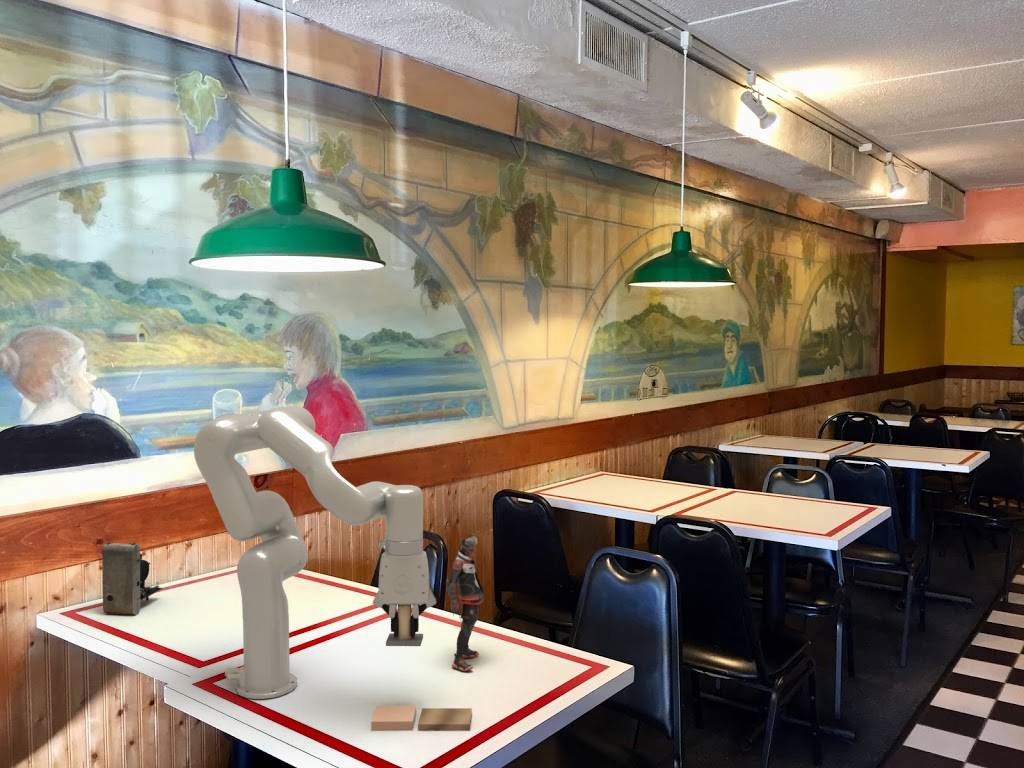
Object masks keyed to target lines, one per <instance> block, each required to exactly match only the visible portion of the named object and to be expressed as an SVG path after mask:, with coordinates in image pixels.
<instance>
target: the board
mask: <svg viewBox="0 0 1024 768" xmlns="http://www.w3.org/2000/svg"><path fill="white" fill-rule="evenodd" d="M472 710H473V708H472V707H469V708H468V707H467V708H466V707H464V708H463V707H462V708H461V707H459V708H458V707H456V708H455V707H453V708H451V707H448V708H447V707H446V708H445V707H444V708H440V707H439V708H437V707H436V708H434V707H432V708H431V707H430V708H429V707H428V708H427V707H426V708H424V707H423V708H421V710H420V715H419V720H418V723H417V731H470V730H471V725H472V715H473V711H472Z"/></svg>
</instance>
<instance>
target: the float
mask: <svg viewBox="0 0 1024 768" xmlns="http://www.w3.org/2000/svg"><path fill="white" fill-rule="evenodd" d="M397 612H398V637H396V638H394V632H390V633H389V634H388V637H387V638H386V641H385V647H421V646H422V643H423V640H424V633H415V636H414V638H412V637H411V624H410V620H411V617H412V613H413V610H412V605H397Z"/></svg>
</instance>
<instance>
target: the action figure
mask: <svg viewBox="0 0 1024 768" xmlns="http://www.w3.org/2000/svg"><path fill="white" fill-rule="evenodd" d="M478 543H479V540H478V538H477V537H475V536H468V537H465V538H463V539H462V540H461V543H460V544H461V546H460V549H458V550H457V551H458V552H457V556H456V557H455V560H454V562H453V564H452V569H451V571H450V577H449V578H448V579H446V581H445V585H446V590H447V594H448V597H449V599H450V605H449V606H450V611H451V612H452V616H453V617H454V616H455V614H458V616H459V617H458V618H459V621H460V622H461V624H460V626H461V627H460V628H459V631H458V635H457V638H456V652H454V654H453V655H454V660H453V661H452V662H451V667H452V669H456V670H459V671H461V672H468V671H471V670H472V669H474V667H473V665H472V664H468V663H467V662H466V661H465V659H475V658H478V657H479V655H480V653H479V651H478V650H472V649H470V648H469V647H470V645H469V641H470V638H471V635H472V631H473V629H474V627H475V624H476V623H477V621H478V619H479V616H478V615H479V614H480V613H481V604H482V603H483V602H484V595H485V594H486V593H485V590H484V587H483V586H482V584H481V581H480V579H479V576H478V573H477V569H476V568H477V567H476V562H475V560H474V555H475V553H476V551H475V546H476V545H477V544H478ZM457 587H458V588H457ZM458 599H459V601H460V602H458ZM460 604H461V605H460ZM460 608H461V609H460ZM459 611H460V612H459Z"/></svg>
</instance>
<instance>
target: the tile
mask: <svg viewBox="0 0 1024 768" xmlns="http://www.w3.org/2000/svg"><path fill="white" fill-rule="evenodd" d="M416 717H417V705H376V706H375V709H374V712H373V715H372V717H371V721H370V729H371V730H370V731H371V732H373V731H374V732H376V731H379V732H381V731H382V732H383V731H384V732H385V731H386V732H387V731H389V732H390V731H395V732H397V731H399V732H401V731H413V730H414V725H415V723H416V719H417V718H416Z"/></svg>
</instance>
